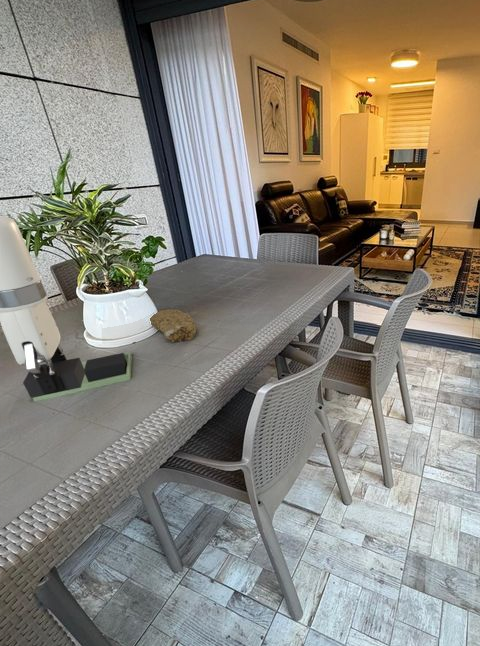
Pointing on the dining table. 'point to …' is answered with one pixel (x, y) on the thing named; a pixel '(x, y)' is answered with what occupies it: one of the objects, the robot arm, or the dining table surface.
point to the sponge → (174, 324)
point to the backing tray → (94, 384)
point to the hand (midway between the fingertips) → (58, 381)
